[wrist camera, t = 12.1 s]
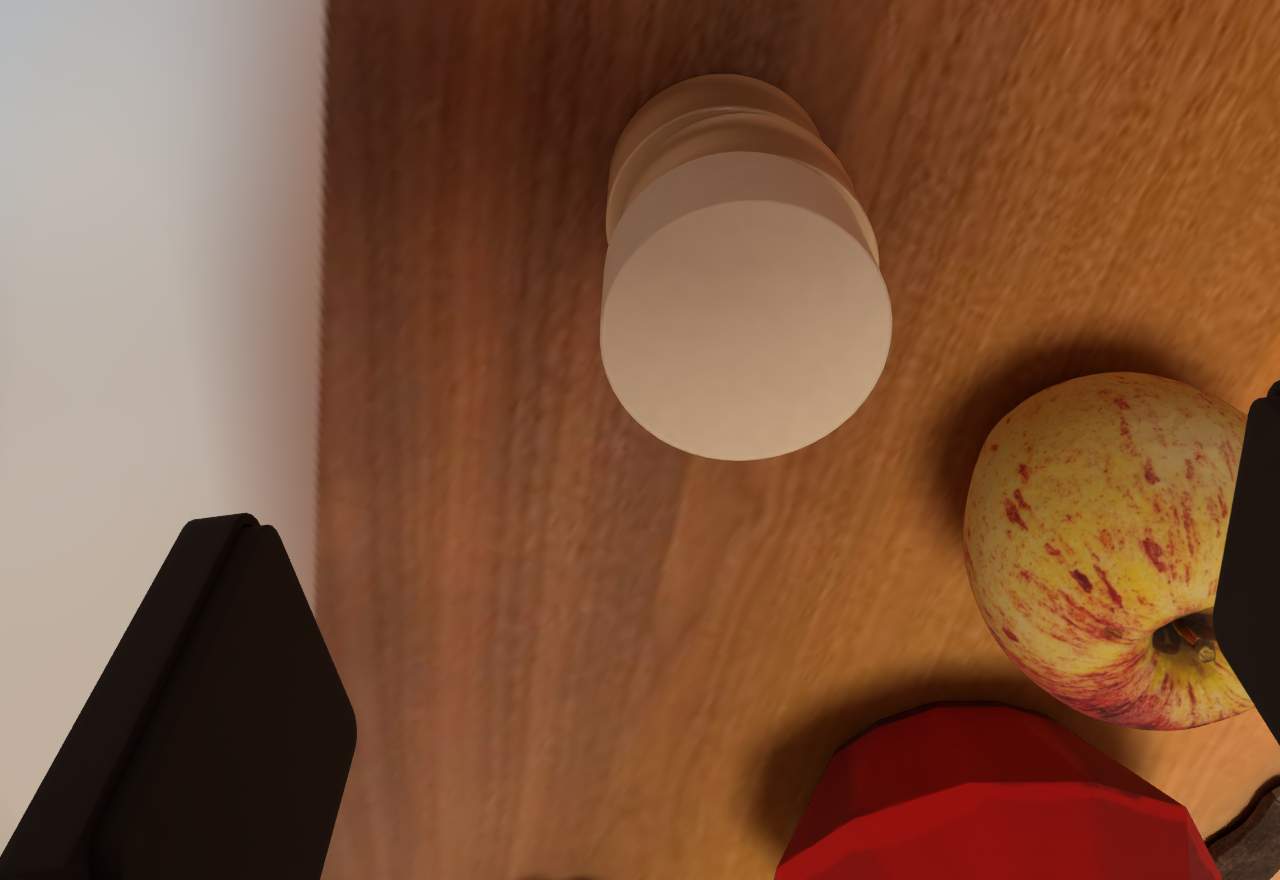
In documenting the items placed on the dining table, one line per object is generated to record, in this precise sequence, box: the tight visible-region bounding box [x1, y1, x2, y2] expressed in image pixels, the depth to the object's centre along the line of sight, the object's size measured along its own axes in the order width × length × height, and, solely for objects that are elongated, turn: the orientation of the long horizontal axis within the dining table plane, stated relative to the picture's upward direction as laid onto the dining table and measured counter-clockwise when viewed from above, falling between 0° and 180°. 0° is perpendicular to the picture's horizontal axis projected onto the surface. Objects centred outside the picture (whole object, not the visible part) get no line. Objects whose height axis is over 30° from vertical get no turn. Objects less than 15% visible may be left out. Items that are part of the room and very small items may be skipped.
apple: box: [963, 372, 1255, 731], centre depth 30 cm, size 9×9×10 cm
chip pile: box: [606, 74, 879, 268], centre depth 28 cm, size 6×6×6 cm
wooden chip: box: [600, 151, 892, 461], centre depth 24 cm, size 6×6×3 cm
